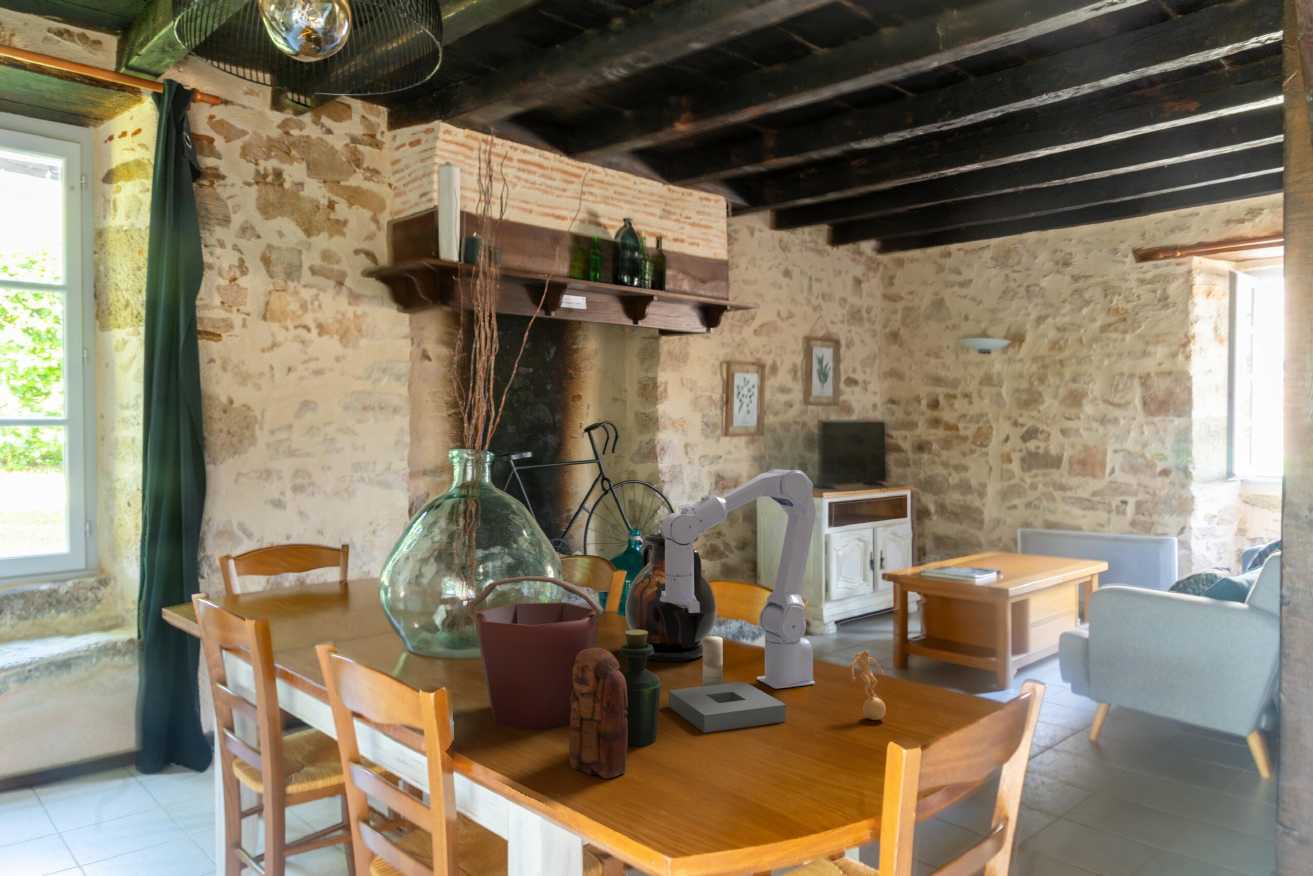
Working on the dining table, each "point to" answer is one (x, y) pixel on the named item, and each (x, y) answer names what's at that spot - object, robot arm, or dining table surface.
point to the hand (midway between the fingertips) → (680, 643)
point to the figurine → (872, 705)
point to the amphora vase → (648, 595)
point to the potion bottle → (640, 690)
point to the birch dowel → (712, 660)
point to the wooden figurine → (598, 715)
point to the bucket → (533, 654)
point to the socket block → (726, 706)
